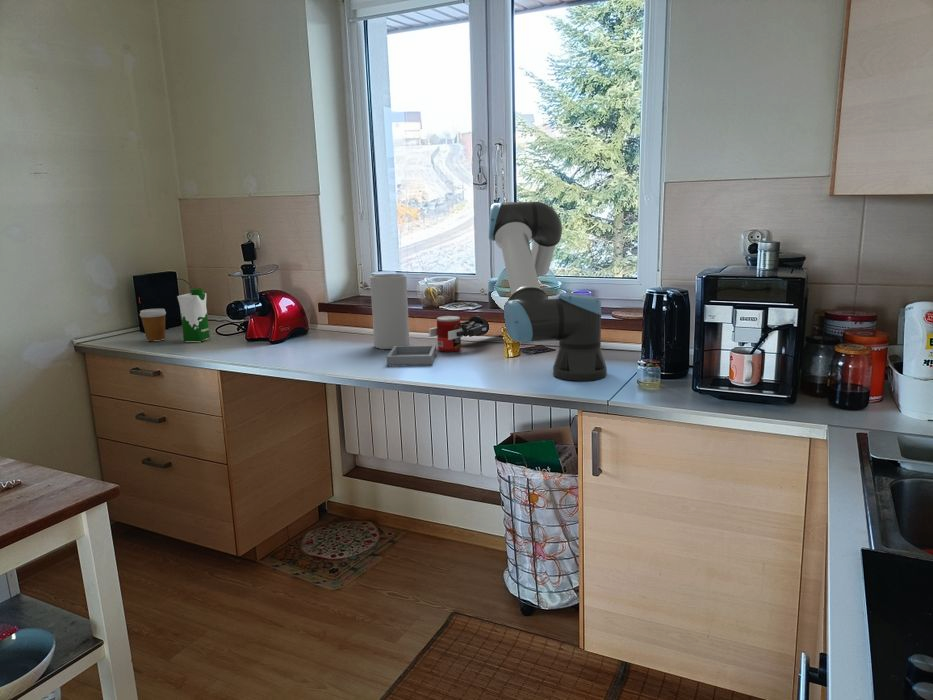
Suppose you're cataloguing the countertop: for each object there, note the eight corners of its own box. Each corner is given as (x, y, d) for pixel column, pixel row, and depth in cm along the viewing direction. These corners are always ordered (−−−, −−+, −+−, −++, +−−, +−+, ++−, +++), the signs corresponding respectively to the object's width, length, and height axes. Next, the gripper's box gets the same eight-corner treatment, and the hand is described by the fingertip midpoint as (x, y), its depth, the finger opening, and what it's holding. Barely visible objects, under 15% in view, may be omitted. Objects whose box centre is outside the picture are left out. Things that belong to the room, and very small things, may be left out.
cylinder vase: (404, 350, 238) (401, 277, 233) (369, 350, 240) (365, 278, 235) (413, 342, 250) (410, 273, 245) (380, 342, 252) (376, 274, 247)
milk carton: (202, 343, 261) (196, 290, 256) (179, 343, 262) (173, 290, 258) (213, 338, 269) (208, 287, 265) (191, 338, 270) (186, 287, 266)
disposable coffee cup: (163, 342, 264) (159, 311, 261) (138, 343, 264) (134, 312, 261) (173, 338, 273) (170, 307, 270) (149, 338, 273) (146, 308, 271)
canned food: (458, 352, 232) (457, 319, 229) (435, 351, 233) (434, 319, 231) (463, 347, 239) (462, 315, 237) (440, 347, 241) (439, 315, 238)
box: (431, 365, 215) (431, 355, 214) (387, 366, 216) (386, 356, 215) (436, 354, 231) (435, 345, 230) (394, 354, 231) (394, 346, 231)
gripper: (505, 337, 242) (463, 348, 226) (460, 331, 256) (417, 342, 239) (505, 316, 241) (462, 326, 224) (460, 311, 254) (416, 320, 237)
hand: (439, 334), depth 231 cm, fingers closed on canned food, 8 cm apart
